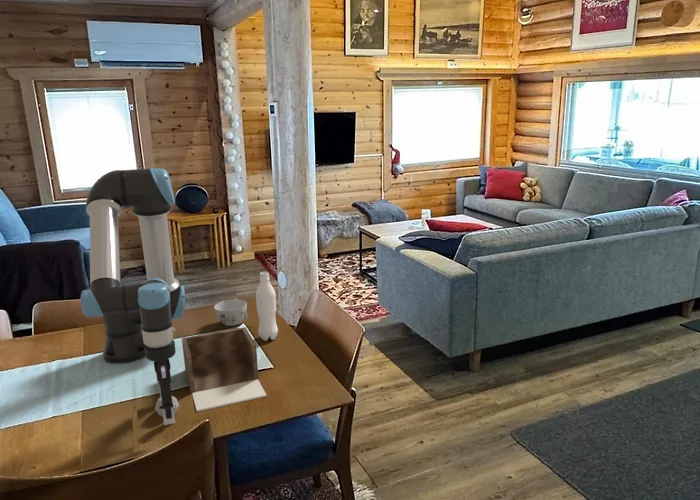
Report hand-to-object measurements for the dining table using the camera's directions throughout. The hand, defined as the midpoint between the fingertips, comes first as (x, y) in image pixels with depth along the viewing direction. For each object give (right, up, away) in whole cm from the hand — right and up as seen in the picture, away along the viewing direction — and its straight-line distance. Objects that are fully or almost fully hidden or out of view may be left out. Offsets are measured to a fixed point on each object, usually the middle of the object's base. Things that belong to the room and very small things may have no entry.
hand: (168, 416), depth 145 cm
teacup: (+4, +16, +64) cm, 66 cm away
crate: (+10, +5, +21) cm, 23 cm away
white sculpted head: (0, 0, 0) cm, 0 cm away
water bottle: (+20, +13, +50) cm, 55 cm away
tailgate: (+13, +5, +13) cm, 19 cm away
